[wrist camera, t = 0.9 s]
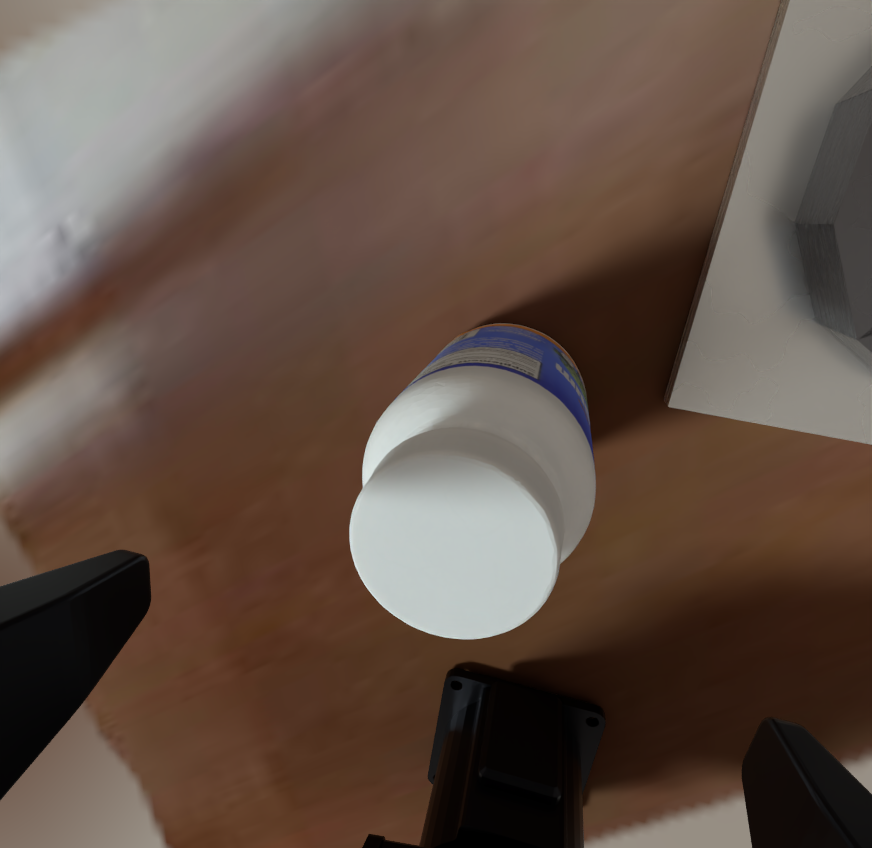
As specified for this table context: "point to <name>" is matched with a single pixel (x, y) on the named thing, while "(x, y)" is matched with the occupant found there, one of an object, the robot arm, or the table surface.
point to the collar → (793, 241)
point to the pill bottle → (476, 485)
